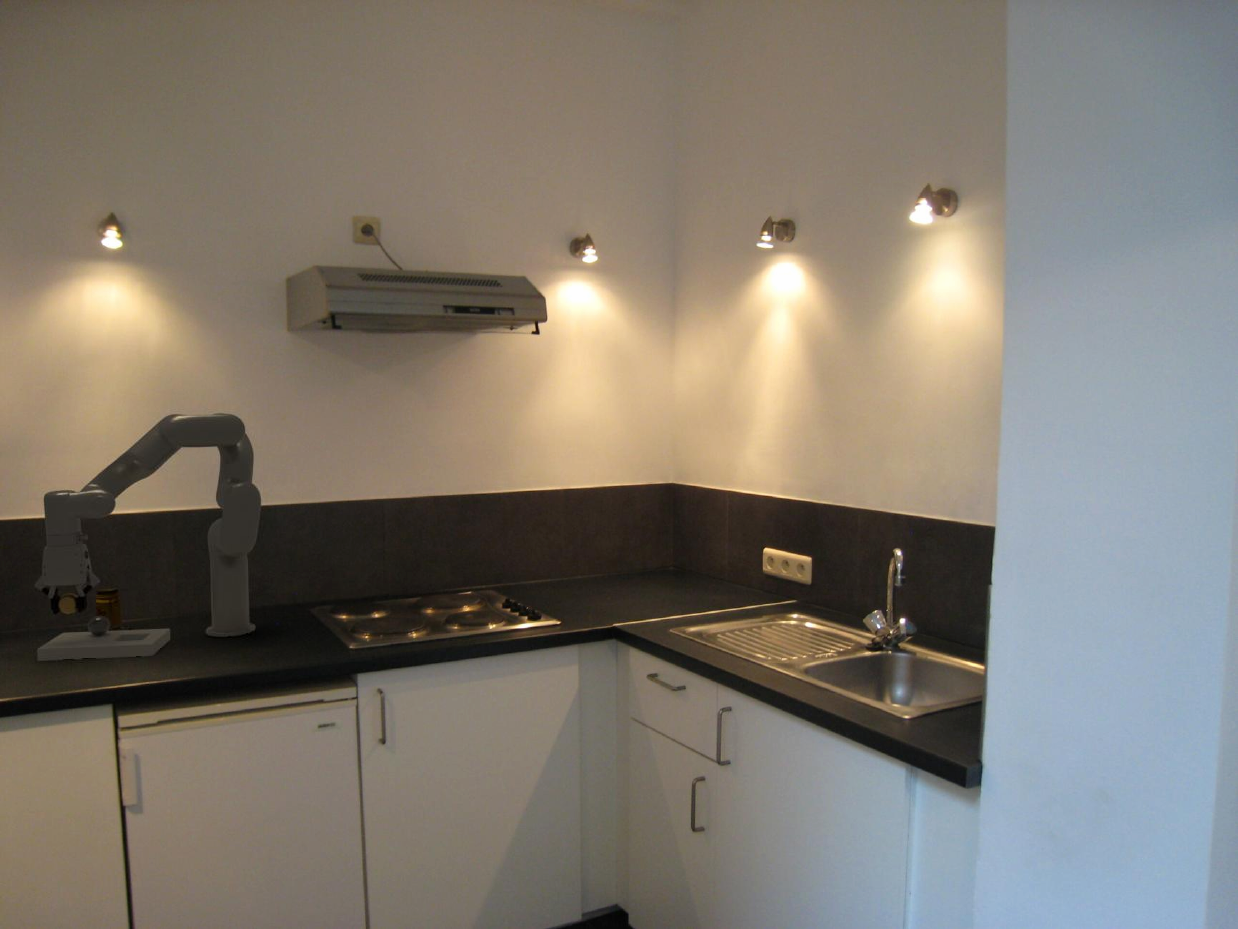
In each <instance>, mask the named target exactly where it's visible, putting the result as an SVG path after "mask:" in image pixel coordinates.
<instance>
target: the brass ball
mask: <svg viewBox="0 0 1238 929" xmlns="http://www.w3.org/2000/svg"><path fill="white" fill-rule="evenodd" d="M77 597H79V595H78V594H74V593H72V592H70V593H69V592H68V593H65V594H62V595H60V598H59V600H58V603H57V606H58V608H59V610H60V613H64V614H68V615H69V614H72V613H75V612H78V606H77Z"/></svg>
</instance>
